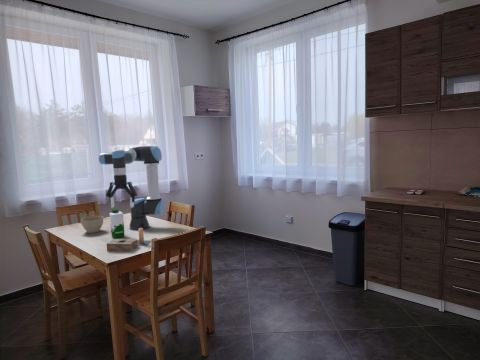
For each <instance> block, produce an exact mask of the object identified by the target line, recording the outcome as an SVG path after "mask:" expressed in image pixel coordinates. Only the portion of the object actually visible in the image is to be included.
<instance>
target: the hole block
mask: <svg viewBox="0 0 480 360" xmlns="http://www.w3.org/2000/svg"><path fill="white" fill-rule="evenodd" d="M137 240H138V239H136V238H135V239H134V238H117V239H114V238H113V239H112V240H110V241H108V242H107V243H106V250H107V251H106V252H132V251H134V249H136V248H137V247H139V246H138V242H137Z"/></svg>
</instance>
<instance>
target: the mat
mask: <svg viewBox="0 0 480 360" xmlns="http://www.w3.org/2000/svg"><path fill="white" fill-rule="evenodd" d="M151 241H152V240H149V239H147V240H145V239H144V243H143V244H140V243H139V239H137V242H138V246H137V247H147V246H149V245H150V244H151V243H152V242H151Z"/></svg>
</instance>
